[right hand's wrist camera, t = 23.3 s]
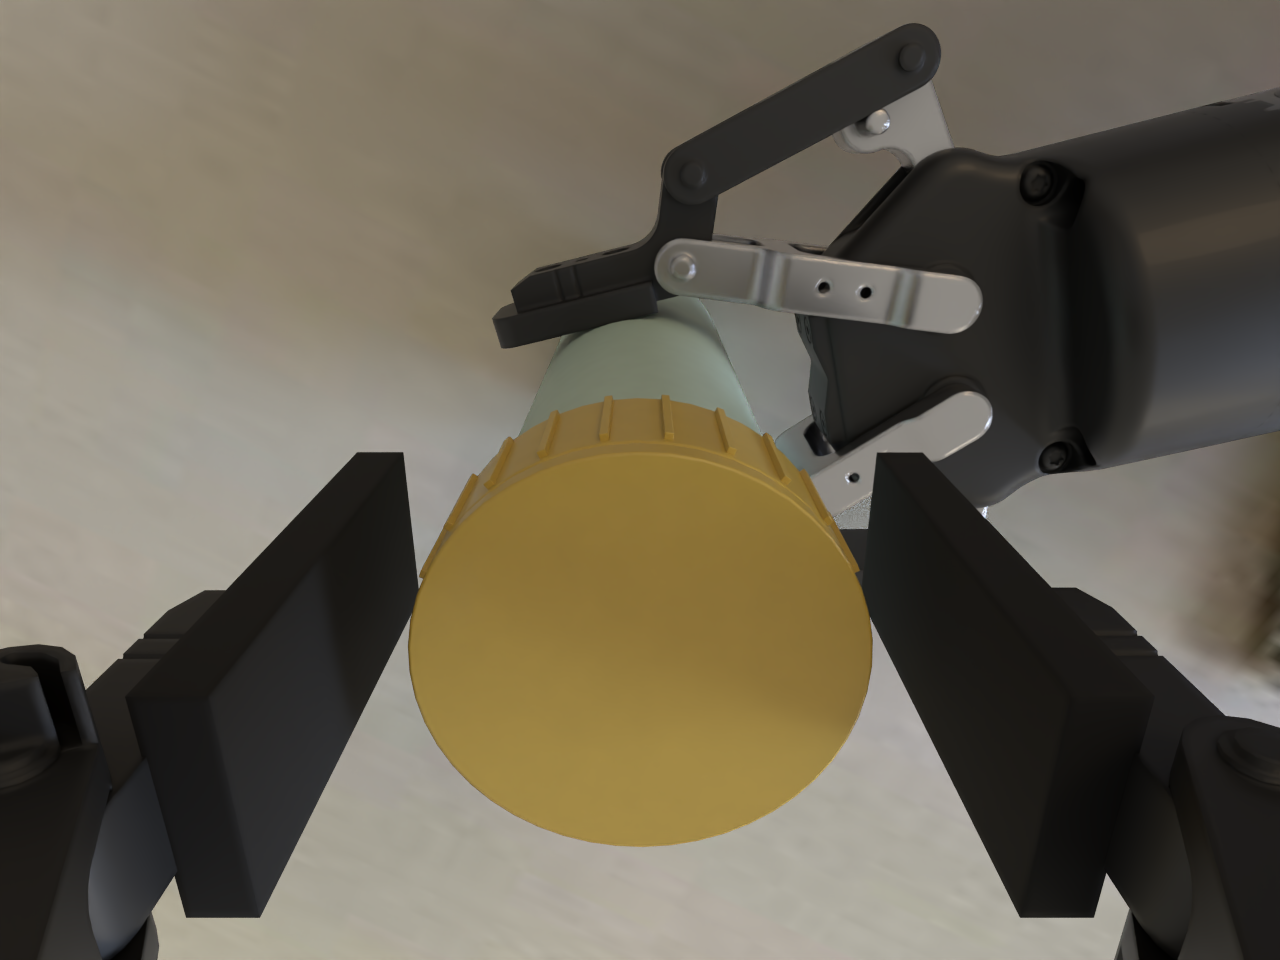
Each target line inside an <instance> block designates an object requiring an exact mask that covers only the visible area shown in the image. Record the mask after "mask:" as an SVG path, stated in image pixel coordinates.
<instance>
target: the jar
mask: <svg viewBox="0 0 1280 960" xmlns="http://www.w3.org/2000/svg"><path fill="white" fill-rule="evenodd" d="M657 305H658V313H654V314H650V315H646V316H642V317H638V318H633V319H629V320H625V321H620V322H615V323H610V324H607V325H605V326H600V327H596V328H592V329H588V330H584V331H580V332H576V333H572V334H567V335H563V336H562V337H561V340H560V342H559V344H558V346H557V349H556V351H555V353H554V356H553V358H552V360H551V363H550V365H549V367H548V370H547V372H546V374H545V376H544V379H543V381H542V383H541V386H540V388H539V390H538V393H537V395H536V397H535V399H534V402H533V404H532V406H531V409H530V411H529V413H528V416H527V418H526V420H525V423H524V425H523V427H522V429H521V432H520V434H519V436H520V435H522V434H523V433H525V432H526V431H528V430H529V429H530V428H532V427H534V426H536V425H537V424H539V423H541V422H543V421H545V420H547V419H548V418H549V415H550V413H551V412H552V411H555V410H558V411H559V413H560V414H561V413H563V412H566V411H569V410H572V409H575V408H578V407H581V406H584V405H589V404H594V403H599V402H604V397H605V396H610V395H612V396H613V400H619V399H632V398H646V399H661V395H669V396H670V400H671V401H677V402H682V403H688V404H693V405H696V406H699V407H702V408H706V409H709V410H712V411H715V410H716V408H717V407H718V408H721V409H724V411H725V414H726V416H727V417H729V418H731V419H733V420H736V421H738V422H740V423H742V424H744V425H745V426H747V427H748V428H750V429H752V430H753V431H755V432H756V433H758V434H759V435H761V436H762V434H761V432H760V429H759V427H758V425H757V423H756V420H755V418H754V416H753V413H752V411H751V409H750V406H749V404H748V402H747V399H746V397H745V395H744V393H743V390H742V388H741V386H740V383H739V381H738V379H737V376H736V374H735V372H734V370H733V367H732V365H731V363H730V360H729V358H728V356H727V353H726V351H725V349H724V347H723V344H722V342H721V340H720V337H719V335H718V333H717V330H716V328H715V326H714V323H713V321H712V319H711V317H710V315H709V313H708V311H707V310H706V308H705V307H704V305H703V304H702V303H701V301H700V300H699V299H698V298H695V297H687V296H676V297H672V298H668V299H664V300H660V301H657ZM519 436H518V437H519Z"/></svg>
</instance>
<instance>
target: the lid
mask: <svg viewBox="0 0 1280 960" xmlns="http://www.w3.org/2000/svg"><path fill="white" fill-rule="evenodd" d="M858 571H860V570H859V567H858V564H857V562H856V561H855V559H854V557H853V555H852V553H851V551H850V549H849V547H848V545H847V544H846V542H845V540H844V538H843V536H842V534H841V532H840V530H839V529H838V527H837V525H836V523H835V521H834V519H833V517H832V515H831V513H830V512H828V510H827V508H826V506H825V505H824V503H823V501H822V499H821V497H820V495H819V493H818V491H817V489H816V487H815V486H814V484H813V482H812V480H811V478H810V476H809V474H808V473H807V471H806V470H805V469H803V470H801V471H800V472H799V470H798V469H797V468H796V467H795V466H794V465H793V464H792V463H791V462H790V460H789V459H788V458H787V457H786V456H785V455H784V454H783V453H782V452H781V451H780V450H778V449H777V447H776V445H775V443H774V441H773V439H772V437H771V436H770V435H769V434H767V433H765V434H764V435H763V436H761V435H759V434H758V433H756V432H755V431H753V430H752V429H750V428H748V427H747V426H745V425H744V424H742V423H740V422H738V421H736V420H733V419H731V418H729V417H727V416H726V414H725V411H724V409H721V408H718V407H717V408H716V410H715V411H712V410H709V409H706V408H702V407H699V406H696V405H693V404H688V403H682V402H677V401H671V400H670V396H669V395H661V399H646V398H632V399H619V400H613V396H612V395H610V396H605V397H604V402H599V403H594V404H589V405H584V406H581V407H578V408H575V409H572V410H569V411H566V412H563V413H561V414H560V413H559V411H558V410H555V411H552V412H551V413H550V415H549V418H548V419H547V420H545V421H543V422H541V423H539V424H537V425H536V426H534V427H532V428H530V429H529V430H528V431H526V432H525V433H523V434H522V435H520V436H519V437H517V438H516V439H514V440H513V439H512V438H511V437H508V438H507V439H506V440H504V442H503V444H502V447H501V449H500V451H499V453H498V454H497V455H496V456H495V457H494V458H493V459H492V460H491V461H490V462H489V463H488V465H487V466H486V467H485V468H484V469H483V471H482V472H481V473H480V474H479V475H478V476H476V475H475V474H472V475H471V477H470V478H469V480H468V482H467V483H466V485H465V487H464V489H463V491H462V493H461V495H460V497H459V499H458V500H457V502H456V504H455V506H454V508H453V510H452V512H451V514H450V515H449V517H448V519H447V521H446V523H445V525H444V527H443V530H442V532H441V534H440V535H439V537H438V539H437V541H436V543H435V545H434V547H433V549H432V551H431V553H430V554H429V556H428V558H427V560H426V562H425V564H424V566H423V568H422V570H421V572H420V575H419V577H420V578H423V581H422V583H421V586H420V588H419V590H418V593H417V596H416V600H415V604H414V608H413V612H412V616H411V619H410V630H409V641H408V654H409V670H410V676H411V680H412V685H413V689H414V694H415V698H416V701H417V703H418V706H419V709H420V711H421V714H422V717H423V719H424V722H425V724H426V726H427V727H428V729H429V731H430V733H431V735H432V736H433V738H434V740H435V742H436V744H437V745H438V747H439V748H440V749H441V751H442V752H443V753H444V755H445V756H446V757H447V759H448V760H449V761H450V763H451V764H452V765H453V766H454V767H455V768H456V769H457V771H458V772H459V773H460V774H461V775H462V776H463V777H464V778H465V779H466V780H467V781H468V782H469V783H470V784H471V785H472V786H474V787H475V788H476V789H477V790H479V791H480V792H481V793H482V794H484V795H485V796H486V797H487V798H488V799H490V800H491V801H493V802H494V803H496V804H497V805H499V806H500V807H502V808H504V809H505V810H507V811H508V812H510V813H512V814H513V815H515V816H517V817H519V818H521V819H523V820H525V821H527V822H530V823H532V824H534V825H536V826H538V827H541V828H543V829H546V830H549V831H552V832H555V833H557V834H560V835H563V836H567V837H571V838H575V839H579V840H583V841H587V842H593V843H600V844H607V845H614V846H635V847H649V846H665V845H675V844H681V843H687V842H693V841H699V840H702V839H706V838H710V837H713V836H717V835H721V834H724V833H727V832H729V831H732V830H735V829H737V828H740V827H742V826H745V825H748V824H750V823H752V822H754V821H756V820H758V819H760V818H761V817H763V816H765V815H767V814H769V813H771V812H773V811H775V810H776V809H778V808H779V807H780V806H782V805H783V804H785V803H786V802H788V801H789V800H791V799H792V798H794V797H795V796H796V795H798V794H799V793H800V792H801V791H802V790H803V789H805V788H806V787H807V786H808V785H809V784H810V783H812V782H813V781H814V780H815V779H816V778H817V777H818V776H819V775H820V774H821V772H822V771H823V770H824V769H825V768H826V767H827V766H828V765H829V764H830V763H831V761H832V760H833V759H834V757H835V756H836V755H837V753H838V752H839V750H840V749H841V747H842V746H843V745H844V743H845V742H846V740H847V739H848V737H849V735H850V733H851V731H852V729H853V727H854V725H855V723H856V721H857V719H858V717H859V714H860V711H861V708H862V706H863V703H864V700H865V697H866V694H867V690H868V685H869V679H870V674H871V668H872V645H873V639H872V631H871V623H870V616H869V611H868V608H867V604H866V601H865V597H864V594H863V591H862V587H861V585H860V583H859V581H858V579H857V577H856V575H855V573H856V572H858Z"/></svg>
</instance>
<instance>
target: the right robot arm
mask: <svg viewBox="0 0 1280 960" xmlns="http://www.w3.org/2000/svg"><path fill="white" fill-rule="evenodd" d="M418 590H419V588H418V579H417V570H416V562H415V553H414V544H413V535H412V526H411V517H410V508H409V499H408V491H407V482H406V473H405V464H404V455H403V452H357V453H356V454H355V455H354V456H353V457H352V458H351V460H350V461H349V462H348V463H347V464H346V465H345V466H344V467H343V468H342V469H341V470H340V471H339V472H338V473H337V474H336V475H335V476H334V477H333V478H332V479H331V481H330V482H329V483H328V484H327V485H326V486H325V487H324V488H323V489H322V490H321V491H320V492H319V493H318V494H317V495H316V496H315V497H314V498H313V499H312V500H311V502H310V503H309V504H308V505H307V506H306V507H305V508H304V509H303V510H302V511H301V512H300V513H299V514H298V515H297V516H296V517H295V518H294V519H293V520H292V522H291V523H290V524H289V525H288V526H287V527H286V528H285V529H284V530H283V531H282V532H281V533H280V534H279V535H278V536H277V537H276V538H275V539H274V540H273V541H272V543H271V544H270V545H269V546H268V547H267V548H266V549H265V550H264V551H263V552H262V553H261V554H260V555H259V556H258V557H257V558H256V559H255V560H254V561H253V562H252V564H251V565H250V566H249V567H248V568H247V569H246V570H245V571H244V572H243V573H242V574H241V575H240V576H239V577H238V578H237V579H236V580H235V581H234V582H233V583H232V585H231V586H230V587H229V588H228V589H227V590H205V591H203V592H201V593H199V594H197V595H196V596H194V597H192V598H190V599H188V600H186V601H185V602H183V603H181V604H179V605H177V606H176V607H174V608H172V609H170V610H168V611H167V612H166V613H165V614H164V615H163V616H162V617H161V618H160V619H159V620H158V621H157V622H156V623H155V624H154V625H153V626H152V627H151V628H150V629H149V630H148V631H147V632H146V633H144V638H143V639H138V640H137V641H136V642H135V643H134V644H133V645H132V646H131V647H130V648H129V649H128V650H127V651H126V652H125V653H124V654H123V659H118V660H116V661H115V662H114V663H113V664H112V665H111V666H110V667H109V668H108V669H107V670H106V671H105V672H104V673H103V674H102V675H101V676H100V677H99V678H98V679H97V680H96V681H95V682H94V683H93V684H92V685H91V686H90V687H89V688H87V689H86V690H85V687H84V683H83V680H82V677H81V673H80V670H79V667H78V663H77V660H76V657H75V655H73V654H72V653H70V652H69V651H67V650H66V649H64V648H63V647H57V646H48V645H40V644H37V645H27V646H17V647H8V648H4V649H0V960H157V958H158V950H159V942H158V936H157V929H156V925H155V922H154V919H153V915H152V912H151V911H152V910H153V908H154V907H155V905H156V903H157V902H158V900H159V899H160V897H161V896H162V894H163V893H164V891H165V890H166V888H167V886H168V885H169V883H170V882H171V880H172V879H173V877H174V876H175V879H176V883H177V886H178V890H179V894H180V897H181V901H182V904H183V908H184V912H185V915H186V918H260V916H261V914H262V912H263V910H264V908H265V906H266V904H267V902H268V900H269V898H270V896H271V894H272V892H273V890H274V888H275V886H276V884H277V882H278V880H279V878H280V876H281V874H282V872H283V870H284V868H285V866H286V864H287V862H288V860H289V858H290V856H291V854H292V852H293V850H294V848H295V846H296V844H297V842H298V840H299V838H300V836H301V834H302V832H303V830H304V828H305V826H306V824H307V822H308V820H309V818H310V816H311V814H312V812H313V810H314V808H315V806H316V804H317V802H318V800H319V798H320V796H321V794H322V792H323V790H324V788H325V786H326V784H327V782H328V780H329V778H330V776H331V774H332V772H333V770H334V768H335V766H336V764H337V762H338V760H339V758H340V756H341V754H342V752H343V750H344V748H345V746H346V744H347V742H348V740H349V738H350V736H351V734H352V732H353V730H354V728H355V726H356V724H357V722H358V720H359V718H360V716H361V714H362V712H363V710H364V708H365V706H366V704H367V702H368V700H369V698H370V696H371V694H372V692H373V690H374V688H375V686H376V684H377V682H378V680H379V678H380V676H381V674H382V672H383V670H384V668H385V666H386V664H387V662H388V660H389V658H390V656H391V654H392V652H393V650H394V648H395V646H396V644H397V642H398V640H399V638H400V636H401V634H402V632H403V630H404V628H405V626H406V624H407V622H408V620H409V618H410V616H411V614H412V612H413V608H414V604H415V600H416V596H417V593H418ZM862 591H863V594H864V597H865V601H866V604H867V608H868V611H869V616H870V618H871V620H872V622H873V624H874V626H875V628H876V630H877V632H878V634H879V636H880V638H881V640H882V642H883V644H884V646H885V648H886V650H887V652H888V654H889V656H890V658H891V660H892V662H893V664H894V666H895V668H896V670H897V672H898V674H899V676H900V678H901V680H902V682H903V684H904V686H905V688H906V690H907V692H908V694H909V696H910V698H911V700H912V702H913V704H914V706H915V708H916V710H917V712H918V714H919V716H920V718H921V720H922V722H923V724H924V726H925V728H926V730H927V732H928V734H929V736H930V738H931V740H932V742H933V744H934V746H935V748H936V750H937V752H938V754H939V756H940V758H941V760H942V762H943V764H944V766H945V768H946V770H947V772H948V774H949V776H950V778H951V780H952V782H953V784H954V786H955V788H956V790H957V792H958V794H959V796H960V798H961V800H962V802H963V804H964V806H965V808H966V810H967V812H968V814H969V816H970V818H971V820H972V822H973V824H974V826H975V828H976V830H977V832H978V834H979V836H980V838H981V840H982V842H983V844H984V846H985V848H986V850H987V852H988V854H989V856H990V858H991V860H992V862H993V864H994V866H995V868H996V870H997V872H998V874H999V876H1000V878H1001V880H1002V882H1003V884H1004V886H1005V888H1006V890H1007V892H1008V894H1009V896H1010V898H1011V900H1012V902H1013V904H1014V906H1015V908H1016V910H1017V912H1018V914H1019V916H1020V918H1094V915H1095V912H1096V908H1097V904H1098V901H1099V897H1100V894H1101V890H1102V886H1103V883H1104V879H1105V876H1106V873H1107V874H1108V876H1109V877H1110V879H1111V880H1112V882H1113V884H1114V885H1115V887H1116V888H1117V890H1118V891H1119V893H1120V894H1121V896H1122V897H1123V899H1124V900H1125V902H1126V904H1127V905H1128V907H1129V908H1130V909H1129V912H1128V915H1127V919H1126V922H1125V925H1124V929H1123V932H1122V935H1121V939H1120V942H1119V946H1118V949H1117V952H1116V956H1115V959H1114V960H1280V728H1279V727H1275V726H1272V725H1268V724H1265V723H1262V722H1258V721H1255V720H1252V719H1248V718H1239V717H1231V716H1225V715H1224V714H1223V713H1222V712H1221V711H1220V710H1219V709H1218V708H1217V707H1216V706H1215V705H1214V704H1213V703H1211V702H1210V701H1209V700H1208V699H1207V698H1206V697H1205V696H1204V695H1203V694H1202V693H1201V692H1200V691H1199V690H1198V689H1197V688H1196V687H1195V686H1194V685H1193V684H1192V683H1191V682H1190V681H1188V680H1187V679H1186V678H1185V677H1184V676H1183V675H1182V674H1181V673H1180V672H1179V671H1178V670H1177V669H1176V668H1175V667H1174V666H1173V665H1172V664H1171V663H1170V662H1169V661H1168V660H1167V659H1166V658H1164V657H1163V656H1158V654H1157V650H1156V649H1155V648H1154V647H1153V646H1152V645H1151V644H1150V643H1149V642H1148V641H1147V640H1146V639H1145V638H1144V637H1143V636H1137V631H1136V630H1135V629H1134V628H1133V627H1132V626H1131V625H1130V624H1129V623H1128V622H1127V621H1126V620H1125V619H1124V618H1123V617H1122V616H1121V615H1120V614H1119V613H1117V612H1116V611H1115V610H1114V609H1113V608H1112V607H1110V606H1108V605H1107V604H1105V603H1103V602H1101V601H1099V600H1097V599H1096V598H1094V597H1092V596H1090V595H1088V594H1087V593H1085V592H1083V591H1081V590H1079V589H1077V588H1051V587H1050V586H1049V585H1048V583H1047V582H1046V581H1045V580H1044V579H1043V578H1042V577H1041V576H1040V575H1039V574H1038V573H1037V572H1036V571H1035V570H1034V569H1033V568H1032V567H1031V566H1030V565H1029V564H1028V562H1027V561H1026V560H1025V559H1024V558H1023V557H1022V556H1021V555H1020V554H1019V553H1018V552H1017V551H1016V550H1015V549H1014V548H1013V547H1012V546H1011V545H1010V544H1009V543H1008V541H1007V540H1006V539H1005V538H1004V537H1003V536H1002V535H1001V534H1000V533H999V532H998V531H997V530H996V529H995V528H994V527H993V526H992V525H991V524H990V523H989V522H988V520H987V519H986V518H985V517H984V516H983V515H982V514H981V513H980V512H979V511H978V510H977V509H976V508H975V507H974V506H973V505H972V504H971V503H970V502H969V500H968V499H967V498H966V497H965V496H964V495H963V494H962V493H961V492H960V491H959V490H958V489H957V488H956V487H955V486H954V485H953V484H952V483H951V482H950V481H949V479H948V478H947V477H946V476H945V475H944V474H943V473H942V472H941V471H940V470H939V469H938V468H937V467H936V466H935V465H934V464H933V463H932V462H931V461H930V460H929V458H928V457H927V456H926V455H925V454H924V453H923V452H877V455H876V464H875V473H874V482H873V491H872V499H871V508H870V517H869V526H868V535H867V544H866V553H865V562H864V570H863V579H862Z"/></svg>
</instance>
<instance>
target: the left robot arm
mask: <svg viewBox="0 0 1280 960" xmlns="http://www.w3.org/2000/svg"><path fill="white" fill-rule="evenodd" d="M940 58H941V48H940V44H939V41H938V38H937V37H936V35H935V34H934V32H933V31H932V30H931V29H929V28H928V27H926V26H924V25H921V24H916V23H912V24H906V25H903V26H901V27H899V28H897V29H895V30H893V31H891V32H888V33H886V34H884V35H882V36H880V37H878V38H877V39H874V40H872V41H870V42H868V43H867V44H865V45H863V46H861V47H859V48H857V49H855V50H854V51H852V52H850V53H848V54H846V55H844V56H843V57H841V58H839V59H837V60H835V61H833V62H832V63H830V64H828V65H826V66H824V67H822V68H821V69H819V70H817V71H815V72H813V73H811V74H810V75H808V76H806V77H804V78H802V79H800V80H799V81H797V82H795V83H793V84H791V85H789V86H788V87H786V88H784V89H782V90H780V91H778V92H776V93H775V94H773V95H771V96H769V97H767V98H765V99H764V100H762V101H760V102H758V103H756V104H754V105H753V106H751V107H749V108H747V109H745V110H743V111H742V112H740V113H738V114H736V115H734V116H732V117H731V118H729V119H727V120H725V121H723V122H721V123H720V124H718V125H716V126H714V127H712V128H710V129H708V130H707V131H705V132H703V133H701V134H699V135H697V136H696V137H694V138H692V139H690V140H688V141H686V142H685V143H683V144H681V145H679V146H677V147H675V148H674V149H672V150H671V151H670V152H669V153H668V154H667V155H666V157H665V159H664V161H663V163H662V167H661V178H662V182H661V191H660V199H659V208H658V216H657V220H656V223H655V225H654V227H653V229H652V230H651V232H650V233H649V234H648V235H647V236H646V237H645V238H644V239H642V240H641V241H639V242H637V243H634V244H631V245H627V246H623V247H619V248H615V249H611V250H607V251H603V252H599V253H595V254H591V255H587V256H583V257H579V258H576V259H571V260H568V261H564V262H560V263H556V264H552V265H548V266H544V267H540V268H537V269H535V270H534V271H533V272H531V273H530V274H529V275H527V276H526V277H525V278H523V279H522V280H521V281H519V282H518V283H517V284H516V285H515V287H514V288H513V289H512V290H511V293H512V296H513V300H514V303H512V304H509V305H507V306H504V307H502V308H501V309H500V310H499V311H498V312H497V313H496V314H495V316H494V317H493V318H492V319H493V323H494V326H495V329H496V332H497V336H498V339H499V342H500V345H501V348H513V347H518V346H522V345H526V344H530V343H535V342H539V341H543V340H547V339H551V338H555V337H559V336H563V335H567V334H572V333H576V332H580V331H584V330H588V329H592V328H596V327H600V326H605V325H607V324H610V323H615V322H620V321H625V320H629V319H633V318H638V317H642V316H646V315H650V314H654V313H658V305H657V301H660V300H664V299H668V298H672V297H676V296H687V297H695V298H703V299H712V300H720V301H728V302H736V303H745V304H751V305H756V306H759V307H762V308H765V309H770V310H775V311H781V312H789V313H795V318H796V323H797V329H798V333H799V335H800V337H801V339H802V341H803V343H804V345H805V347H806V349H807V352H808V354H809V356H810V358H811V369H810V379H809V389H808V393H809V399H810V404H811V410H812V415H810V416H809V417H807V418H805V419H804V420H802V421H801V422H799V423H797V424H796V425H794V426H792V427H791V428H789V429H788V430H786V431H785V432H783V433H782V434H781V435H780V436H779V437H778V438H777V439H776V441H775V445H776V447H777V449H778V450H780V451H781V452H782V453H783V454H784V455H785V456H786V457H787V458H788V459H789V460H790V462H791V463H792V464H793V465H794V466H795V467H796V468H797V469H798V470H799V472H800V471H801V470H803V469H805V470H806V471H807V473H808V474H809V476H810V478H811V480H812V482H813V484H814V486H815V487H816V489H817V491H818V493H819V495H820V497H821V499H822V501H823V503H824V505H825V506H826V508H827V510H828V512H830V513H831V515H832V517H835V516H837V515H838V514H840V513H842V512H844V511H845V510H847V509H849V508H850V507H852V506H854V505H856V504H857V503H859V502H861V501H862V500H864V499H866V498H867V497H869V496H871V495H872V491H873V482H874V473H875V464H876V455H877V452H923V453H924V454H925V455H926V456H927V457H928V458H929V460H930V461H931V462H932V463H933V464H934V465H935V466H936V467H937V468H938V469H939V470H940V471H941V472H942V473H943V474H944V475H945V476H946V477H947V478H948V479H949V481H950V482H951V483H952V484H953V485H954V486H955V487H956V488H957V489H958V490H959V491H960V492H961V493H962V494H963V495H964V496H965V497H966V498H967V499H968V500H969V502H970V503H971V504H972V505H973V506H974V507H975V508H976V509H977V510H978V511H979V512H980V513H981V514H982V515H983V516H984V517H985V518H986V513H987V507H988V506H991V505H994V504H996V503H998V502H1000V501H1002V500H1004V499H1005V498H1006V497H1008V496H1009V495H1010V494H1012V493H1013V492H1014V491H1016V490H1017V489H1018V488H1020V487H1022V486H1023V485H1025V484H1027V483H1028V482H1030V481H1032V480H1034V479H1037V478H1039V477H1042V476H1045V475H1049V474H1057V473H1067V472H1081V471H1091V470H1099V469H1105V468H1110V467H1114V466H1119V465H1123V464H1128V463H1133V462H1137V461H1142V460H1147V459H1151V458H1156V457H1160V456H1165V455H1170V454H1174V453H1179V452H1184V451H1188V450H1193V449H1197V448H1202V447H1207V446H1211V445H1216V444H1221V443H1225V442H1230V441H1234V440H1239V439H1243V438H1248V437H1253V436H1257V435H1262V434H1266V433H1271V432H1276V431H1280V87H1278V88H1274V89H1270V90H1266V91H1262V92H1258V93H1255V94H1251V95H1247V96H1243V97H1239V98H1235V99H1231V100H1227V101H1223V102H1218V103H1214V104H1210V105H1206V106H1202V107H1198V108H1194V109H1190V110H1186V111H1182V112H1178V113H1174V114H1170V115H1166V116H1162V117H1158V118H1154V119H1150V120H1146V121H1142V122H1138V123H1134V124H1130V125H1126V126H1122V127H1118V128H1114V129H1110V130H1106V131H1102V132H1098V133H1094V134H1090V135H1086V136H1082V137H1078V138H1074V139H1071V140H1067V141H1063V142H1059V143H1055V144H1051V145H1047V146H1043V147H1039V148H1035V149H1031V150H1027V151H1023V152H1019V153H1015V154H1010V155H1004V156H992V155H988V154H984V153H981V152H978V151H975V150H972V149H968V148H955V147H954V144H953V141H952V138H951V136H950V133H949V130H948V127H947V124H946V121H945V118H944V115H943V112H942V109H941V106H940V103H939V100H938V97H937V94H936V91H935V89H934V86H933V83H932V80H931V79H932V78H933V76H934V75H935V73H936V71H937V69H938V67H939V63H940ZM830 135H832V136H833V138H834V140H835V142H836V144H837V145H838V146H839V147H840V148H841V149H842V150H844V151H846V152H849V153H853V154H868V153H873V152H876V151H879V150H882V149H883V150H886V151H889V152H891V153H892V154H894V155H895V156H896V157H897V159H898V160H899V161H900V164H901V167H900V168H899V169H898V170H897V172H896V173H895V174H894V175H893V176H892V177H891V178H890V179H889V180H888V181H887V183H886V184H885V185H884V186H883V187H882V188H881V189H880V190H879V191H878V193H877V194H876V195H875V196H874V197H873V198H872V199H871V200H870V201H869V202H868V204H867V205H866V206H865V207H864V208H863V209H862V210H861V211H860V212H859V214H858V215H857V216H856V217H855V218H854V219H853V220H852V221H851V222H850V223H849V225H848V226H847V227H846V228H845V229H844V230H843V231H842V232H841V233H840V234H839V236H838V237H837V238H836V239H835V240H834V241H833V242H832V243H831V244H830V246H824V245H816V244H808V243H800V242H792V241H784V240H776V239H768V238H748V237H739V236H731V235H723V234H715V233H713V228H714V221H715V214H716V207H717V200H718V195H719V194H721V193H723V192H724V191H726V190H728V189H730V188H732V187H734V186H736V185H738V184H740V183H742V182H743V181H745V180H747V179H749V178H751V177H753V176H755V175H757V174H759V173H760V172H762V171H764V170H766V169H768V168H770V167H772V166H774V165H776V164H777V163H779V162H781V161H783V160H785V159H787V158H789V157H791V156H793V155H795V154H796V153H798V152H800V151H802V150H804V149H806V148H808V147H810V146H812V145H813V144H815V143H817V142H819V141H821V140H823V139H825V138H827V137H829V136H830ZM852 473H853V474H852ZM851 474H852V475H851ZM839 530H840V532H841V534H842V536H843V538H844V540H845V542H846V544H847V545H848V547H849V549H850V551H851V553H852V555H853V557H854V559H855V561H856V562H857V564H858V567H859V570H860V571H858V572H856V573H855V575H856V577H857V579H858V581H859V583H860V585H861V587H862V579H863V570H864V562H865V553H866V544H867V535H868V529H839Z"/></svg>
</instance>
